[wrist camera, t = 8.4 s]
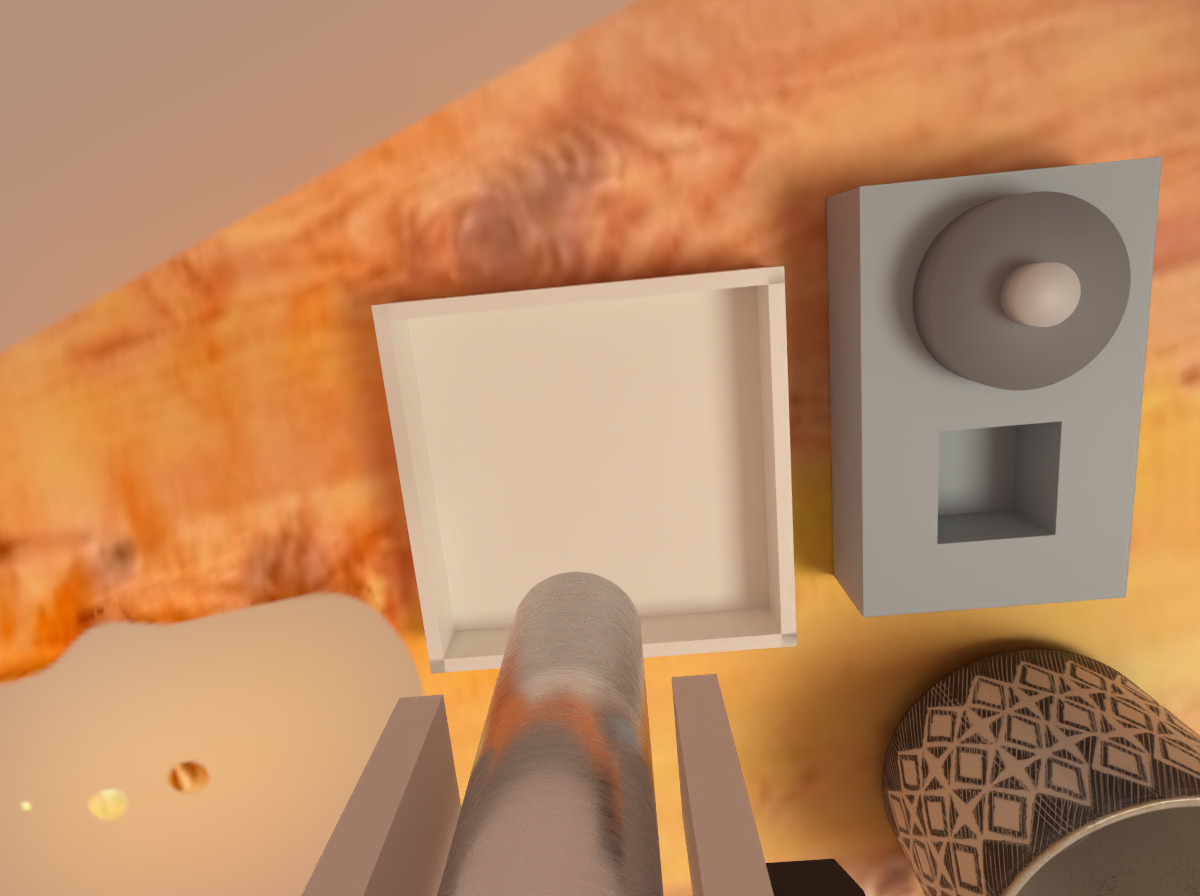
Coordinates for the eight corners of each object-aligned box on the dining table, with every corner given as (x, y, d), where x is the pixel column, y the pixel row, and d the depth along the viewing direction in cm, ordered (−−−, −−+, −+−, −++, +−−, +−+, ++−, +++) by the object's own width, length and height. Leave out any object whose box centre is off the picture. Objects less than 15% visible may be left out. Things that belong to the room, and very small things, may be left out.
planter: (1203, 729, 34) (1453, 924, 24) (1016, 911, 37) (1171, 1156, 26) (997, 584, 32) (1171, 727, 22) (818, 784, 35) (901, 993, 25)
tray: (394, 301, 30) (371, 305, 27) (767, 266, 29) (784, 266, 26) (447, 638, 33) (431, 673, 31) (780, 612, 33) (796, 646, 30)
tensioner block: (826, 197, 29) (887, 176, 22) (1086, 172, 28) (1225, 143, 22) (833, 575, 32) (887, 651, 26) (1063, 557, 32) (1176, 629, 26)
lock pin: (481, 559, 17) (166, 1260, 5) (655, 544, 17) (768, 1228, 5) (502, 712, 18) (282, 1615, 6) (668, 700, 18) (788, 1600, 6)
